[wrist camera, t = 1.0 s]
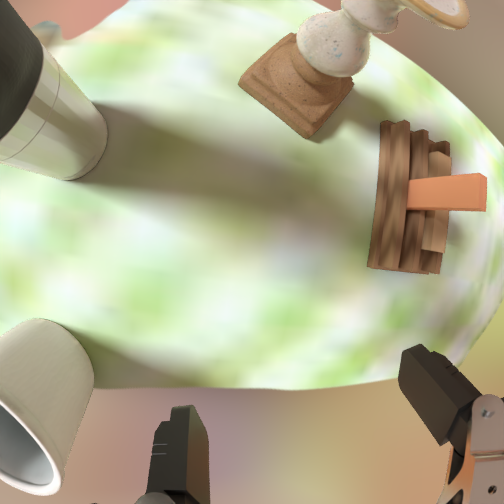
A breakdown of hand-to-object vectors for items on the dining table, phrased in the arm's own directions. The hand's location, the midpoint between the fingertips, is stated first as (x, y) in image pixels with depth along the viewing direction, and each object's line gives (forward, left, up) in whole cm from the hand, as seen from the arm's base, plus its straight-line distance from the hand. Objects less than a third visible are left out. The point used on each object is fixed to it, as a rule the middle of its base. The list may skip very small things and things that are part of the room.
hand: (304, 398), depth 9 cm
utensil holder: (-2, -27, -24) cm, 36 cm away
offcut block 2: (+8, +26, -22) cm, 35 cm away
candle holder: (-16, +19, -24) cm, 35 cm away
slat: (+3, +24, -22) cm, 33 cm away
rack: (+5, +27, -24) cm, 37 cm away
